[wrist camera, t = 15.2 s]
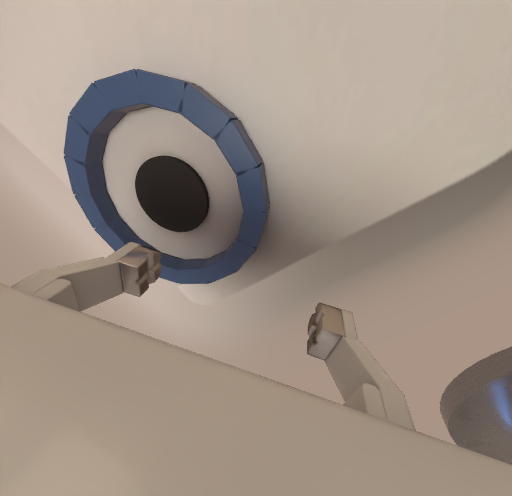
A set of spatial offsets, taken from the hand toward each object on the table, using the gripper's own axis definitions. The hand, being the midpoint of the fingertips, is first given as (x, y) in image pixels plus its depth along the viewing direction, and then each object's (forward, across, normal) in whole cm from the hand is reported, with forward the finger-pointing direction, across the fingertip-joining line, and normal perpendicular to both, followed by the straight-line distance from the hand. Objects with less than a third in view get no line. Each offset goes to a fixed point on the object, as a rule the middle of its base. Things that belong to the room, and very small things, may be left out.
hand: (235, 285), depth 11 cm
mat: (+7, +8, 0) cm, 11 cm away
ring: (+7, +8, 0) cm, 11 cm away
